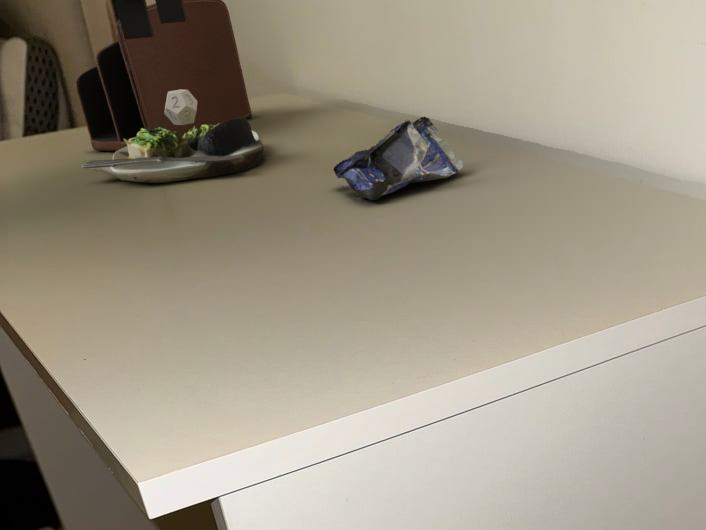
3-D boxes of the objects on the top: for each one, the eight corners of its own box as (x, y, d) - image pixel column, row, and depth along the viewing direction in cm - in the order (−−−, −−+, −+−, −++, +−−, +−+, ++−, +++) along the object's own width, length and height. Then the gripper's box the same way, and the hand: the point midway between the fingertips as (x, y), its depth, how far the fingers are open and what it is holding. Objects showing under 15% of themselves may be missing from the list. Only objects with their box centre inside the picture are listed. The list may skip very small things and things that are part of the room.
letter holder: (253, 117, 124) (226, -11, 115) (154, 153, 110) (115, 11, 101) (195, 117, 127) (164, -7, 118) (92, 152, 114) (49, 14, 105)
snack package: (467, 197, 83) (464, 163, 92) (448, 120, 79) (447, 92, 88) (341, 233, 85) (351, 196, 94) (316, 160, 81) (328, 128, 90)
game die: (161, 125, 100) (152, 94, 98) (188, 118, 102) (180, 87, 100) (181, 127, 98) (173, 95, 96) (208, 120, 100) (201, 88, 99)
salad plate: (82, 200, 94) (65, 150, 91) (93, 164, 108) (79, 120, 105) (271, 172, 97) (261, 123, 94) (259, 141, 111) (250, 97, 108)
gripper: (84, -282, 72) (162, 41, 85) (165, -245, 91) (219, 13, 104) (-11, -273, 72) (82, 48, 85) (90, -238, 91) (153, 19, 105)
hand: (157, 30), depth 95 cm, fingers open, 13 cm apart
